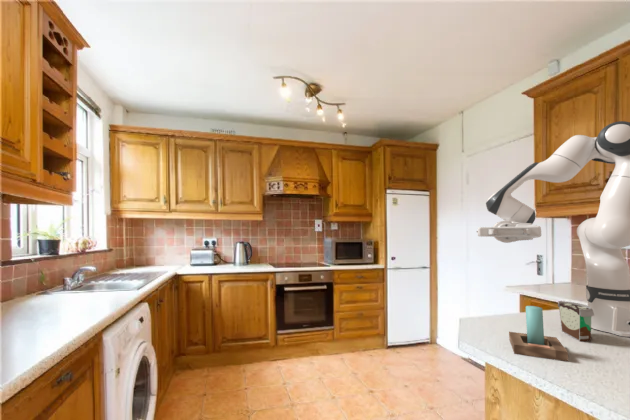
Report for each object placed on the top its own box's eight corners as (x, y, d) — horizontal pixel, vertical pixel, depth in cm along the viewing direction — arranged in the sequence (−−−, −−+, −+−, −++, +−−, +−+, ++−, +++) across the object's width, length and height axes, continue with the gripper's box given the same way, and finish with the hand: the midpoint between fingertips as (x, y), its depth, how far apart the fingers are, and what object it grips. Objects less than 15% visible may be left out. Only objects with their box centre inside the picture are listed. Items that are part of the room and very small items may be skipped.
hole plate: (556, 345, 91) (556, 336, 91) (568, 361, 80) (567, 351, 80) (509, 339, 96) (508, 331, 96) (514, 353, 85) (513, 343, 86)
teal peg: (543, 348, 89) (540, 306, 90) (546, 353, 85) (543, 309, 86) (526, 346, 91) (524, 305, 92) (529, 350, 87) (526, 308, 88)
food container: (606, 344, 92) (604, 310, 92) (582, 343, 93) (580, 309, 93) (579, 331, 104) (577, 301, 104) (559, 330, 105) (557, 300, 105)
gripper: (476, 224, 126) (476, 223, 114) (536, 223, 117) (544, 222, 104) (476, 239, 125) (477, 240, 113) (537, 239, 116) (545, 240, 104)
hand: (510, 231), depth 109 cm, fingers open, 8 cm apart
